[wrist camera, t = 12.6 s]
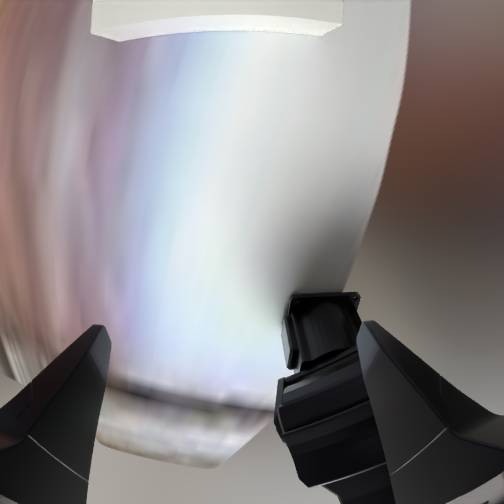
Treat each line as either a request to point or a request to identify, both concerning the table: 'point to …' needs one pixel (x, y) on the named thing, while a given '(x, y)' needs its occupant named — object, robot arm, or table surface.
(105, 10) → the socket block
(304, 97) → the table surface
